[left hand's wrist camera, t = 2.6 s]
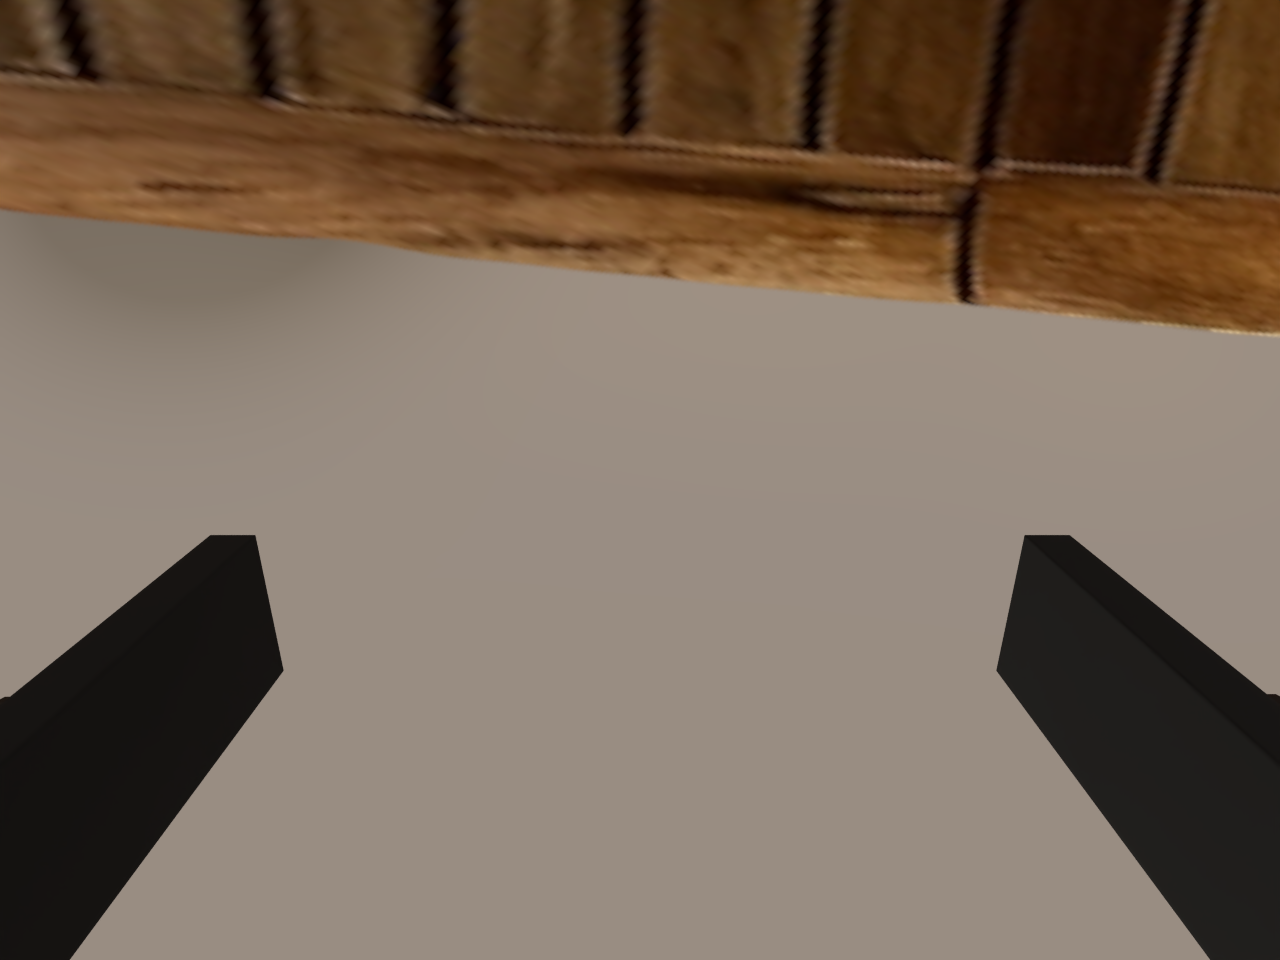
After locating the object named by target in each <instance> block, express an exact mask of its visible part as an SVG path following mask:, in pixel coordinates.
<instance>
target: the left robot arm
mask: <svg viewBox="0 0 1280 960" xmlns="http://www.w3.org/2000/svg"><path fill="white" fill-rule="evenodd" d="M282 672H283V666H282V661H281V656H280V651H279V646H278V642H277V637H276V632H275V627H274V622H273V618H272V613H271V608H270V603H269V598H268V594H267V589H266V585H265V579H264V575H263V570H262V565H261V560H260V556H259V551H258V546H257V541H256V536H255V535H210V536H209V537H208V538H206V539H205V540H204V541H203V542H201V543H200V544H199V545H198V546H196V547H195V548H194V549H193V550H192V551H190V552H189V553H188V554H187V555H185V556H184V557H183V558H182V559H180V560H179V561H178V562H177V563H175V564H174V565H173V566H172V567H170V568H169V569H168V570H167V571H165V572H164V573H163V574H162V575H161V576H159V577H158V578H157V579H156V580H154V581H153V582H152V583H151V584H149V585H148V586H147V587H146V588H144V589H143V590H142V591H141V592H139V593H138V594H137V595H136V596H134V597H133V598H132V599H131V600H130V601H128V602H127V603H126V604H125V605H123V606H122V607H121V608H120V609H118V610H117V611H116V612H115V613H113V614H112V615H111V616H110V617H108V618H107V619H106V620H105V621H103V622H102V623H101V624H100V625H99V626H97V627H96V628H95V629H94V630H92V631H91V632H90V633H89V634H87V635H86V636H85V637H84V638H82V639H81V640H80V641H79V642H77V643H76V644H75V645H74V646H72V647H71V648H70V649H69V650H67V651H66V652H65V653H64V654H63V655H61V656H60V657H59V658H58V659H56V660H55V661H54V662H53V663H51V664H50V665H49V666H48V667H46V668H45V669H44V670H43V671H41V672H40V673H39V674H38V675H36V676H35V677H34V678H33V679H32V680H30V681H29V682H28V683H27V684H25V685H24V686H23V687H22V688H20V689H19V690H18V691H17V692H16V693H14V694H13V695H12V696H11V697H4V698H2V699H0V960H70V959H71V957H72V956H73V955H74V953H75V952H76V951H77V949H78V948H79V946H80V945H81V944H82V942H83V941H84V940H85V938H86V937H87V936H88V934H89V933H90V932H91V930H92V929H93V928H94V926H95V925H96V923H97V922H98V921H99V919H100V918H101V917H102V915H103V914H104V913H105V911H106V910H107V909H108V907H109V906H110V904H111V903H112V902H113V900H114V899H115V898H116V896H117V895H118V894H119V892H120V891H121V890H122V888H123V887H124V886H125V884H126V883H127V882H128V880H129V879H130V877H131V876H132V875H133V873H134V872H135V871H136V869H137V868H138V867H139V865H140V864H141V863H142V861H143V860H144V859H145V857H146V856H147V855H148V853H149V852H150V850H151V849H152V848H153V846H154V845H155V844H156V842H157V841H158V840H159V838H160V837H161V836H162V834H163V833H164V832H165V830H166V829H167V828H168V826H169V825H170V823H171V822H172V821H173V819H174V818H175V817H176V815H177V814H178V813H179V811H180V810H181V809H182V807H183V806H184V804H185V803H186V802H187V800H188V799H189V798H190V796H191V795H192V794H193V792H194V791H195V790H196V788H197V787H198V786H199V784H200V783H201V782H202V780H203V779H204V777H205V776H206V775H207V773H208V772H209V771H210V769H211V768H212V767H213V765H214V764H215V763H216V761H217V760H218V759H219V757H220V756H221V754H222V753H223V752H224V750H225V749H226V748H227V746H228V745H229V744H230V742H231V741H232V740H233V738H234V737H235V736H236V734H237V733H238V731H239V730H240V729H241V727H242V726H243V725H244V723H245V722H246V721H247V719H248V718H249V717H250V715H251V714H252V713H253V711H254V710H255V708H256V707H257V706H258V704H259V703H260V702H261V700H262V699H263V698H264V696H265V695H266V694H267V692H268V691H269V690H270V688H271V687H272V685H273V684H274V683H275V681H276V680H277V679H278V677H279V676H280V675H281V673H282ZM997 672H998V673H999V675H1000V676H1001V677H1002V679H1003V680H1004V681H1005V683H1006V684H1007V686H1008V687H1009V688H1010V690H1011V691H1012V692H1013V694H1014V695H1015V696H1016V698H1017V699H1018V700H1019V702H1020V703H1021V704H1022V706H1023V707H1024V708H1025V710H1026V711H1027V713H1028V714H1029V715H1030V717H1031V718H1032V719H1033V721H1034V722H1035V723H1036V725H1037V726H1038V727H1039V729H1040V730H1041V732H1042V733H1043V734H1044V736H1045V737H1046V738H1047V740H1048V741H1049V742H1050V744H1051V745H1052V746H1053V748H1054V749H1055V750H1056V752H1057V753H1058V754H1059V756H1060V757H1061V759H1062V760H1063V761H1064V763H1065V764H1066V765H1067V767H1068V768H1069V769H1070V771H1071V772H1072V773H1073V775H1074V776H1075V777H1076V779H1077V780H1078V782H1079V783H1080V784H1081V786H1082V787H1083V788H1084V790H1085V791H1086V792H1087V794H1088V795H1089V796H1090V798H1091V799H1092V800H1093V802H1094V803H1095V805H1096V806H1097V807H1098V809H1099V810H1100V811H1101V813H1102V814H1103V815H1104V817H1105V818H1106V819H1107V821H1108V822H1109V823H1110V825H1111V826H1112V828H1113V829H1114V830H1115V831H1116V833H1117V834H1118V836H1119V837H1120V838H1121V840H1122V841H1123V842H1124V844H1125V845H1126V846H1127V848H1128V849H1129V850H1130V852H1131V853H1132V854H1133V856H1134V857H1135V859H1136V860H1137V861H1138V863H1139V864H1140V865H1141V867H1142V868H1143V869H1144V871H1145V872H1146V873H1147V875H1148V876H1149V878H1150V879H1151V880H1152V882H1153V883H1154V884H1155V886H1156V887H1157V888H1158V890H1159V891H1160V892H1161V894H1162V895H1163V896H1164V898H1165V899H1166V901H1167V902H1168V903H1169V905H1170V906H1171V907H1172V909H1173V910H1174V911H1175V913H1176V914H1177V915H1178V917H1179V918H1180V919H1181V921H1182V922H1183V924H1184V925H1185V926H1186V928H1187V929H1188V930H1189V932H1190V933H1191V934H1192V936H1193V937H1194V938H1195V940H1196V941H1197V942H1198V944H1199V945H1200V946H1201V948H1202V949H1203V951H1204V952H1205V953H1206V955H1207V956H1208V957H1209V959H1210V960H1280V696H1278V695H1276V694H1266V693H1265V692H1263V691H1262V690H1261V689H1260V688H1258V687H1257V686H1256V685H1255V684H1253V683H1252V682H1251V681H1250V680H1248V679H1247V678H1246V677H1245V676H1243V675H1242V674H1241V673H1240V672H1239V671H1237V670H1236V669H1235V668H1234V667H1232V666H1231V665H1230V664H1229V663H1227V662H1226V661H1225V660H1224V659H1222V658H1221V657H1220V656H1219V655H1217V654H1216V653H1215V652H1214V651H1213V650H1211V649H1210V648H1209V647H1207V646H1206V645H1205V644H1204V643H1203V642H1201V641H1200V640H1199V639H1198V638H1196V637H1195V636H1194V635H1193V634H1191V633H1190V632H1189V631H1188V630H1186V629H1185V628H1184V627H1183V626H1182V625H1180V624H1179V623H1178V622H1177V621H1175V620H1174V619H1173V618H1172V617H1170V616H1169V615H1168V614H1167V613H1165V612H1164V611H1163V610H1162V609H1160V608H1159V607H1158V606H1157V605H1155V604H1154V603H1153V602H1152V601H1150V600H1149V599H1148V598H1147V597H1146V596H1144V595H1143V594H1142V593H1141V592H1139V591H1138V590H1137V589H1136V588H1134V587H1133V586H1132V585H1131V584H1129V583H1128V582H1127V581H1126V580H1124V579H1123V578H1122V577H1121V576H1120V575H1118V574H1117V573H1116V572H1115V571H1113V570H1112V569H1111V568H1110V567H1108V566H1107V565H1106V564H1105V563H1103V562H1102V561H1101V560H1100V559H1098V558H1097V557H1096V556H1095V555H1093V554H1092V553H1091V552H1090V551H1089V550H1087V549H1086V548H1085V547H1084V546H1082V545H1081V544H1080V543H1079V542H1077V541H1076V540H1075V539H1074V538H1072V537H1071V536H1070V535H1025V536H1024V541H1023V546H1022V551H1021V556H1020V560H1019V565H1018V570H1017V575H1016V579H1015V584H1014V589H1013V594H1012V598H1011V603H1010V608H1009V613H1008V618H1007V623H1006V628H1005V632H1004V637H1003V642H1002V646H1001V651H1000V656H999V661H998V666H997Z"/></svg>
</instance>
